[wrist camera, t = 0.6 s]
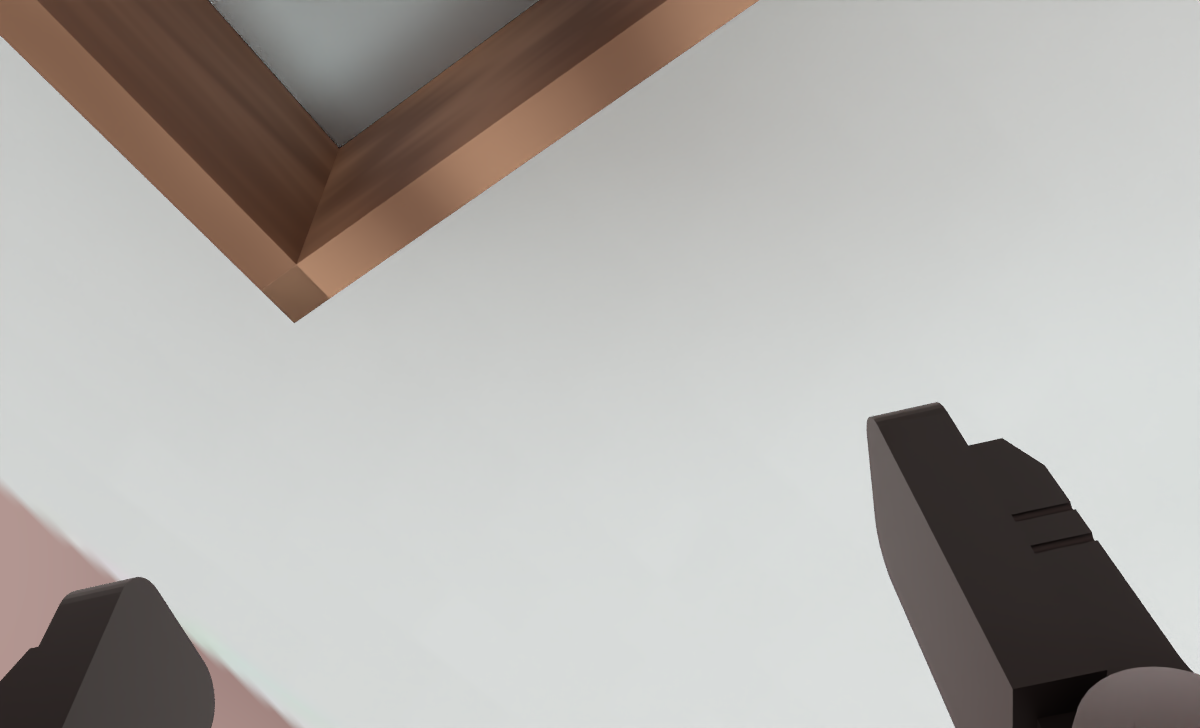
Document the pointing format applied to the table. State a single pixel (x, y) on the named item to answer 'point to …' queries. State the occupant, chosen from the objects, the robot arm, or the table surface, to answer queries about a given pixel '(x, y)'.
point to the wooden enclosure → (305, 152)
